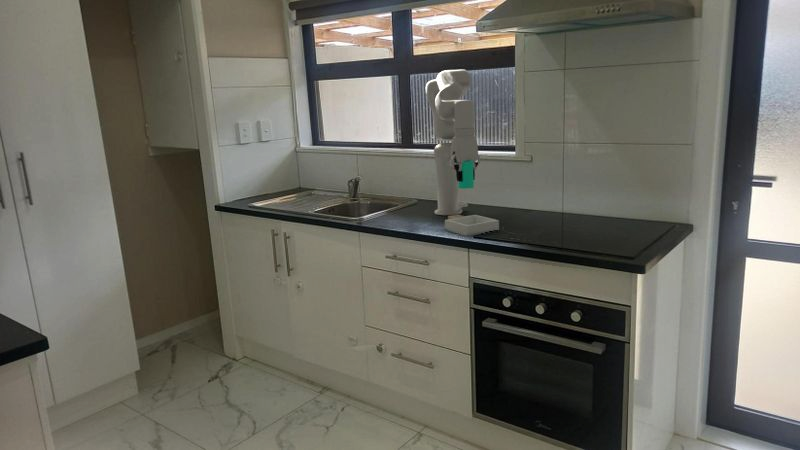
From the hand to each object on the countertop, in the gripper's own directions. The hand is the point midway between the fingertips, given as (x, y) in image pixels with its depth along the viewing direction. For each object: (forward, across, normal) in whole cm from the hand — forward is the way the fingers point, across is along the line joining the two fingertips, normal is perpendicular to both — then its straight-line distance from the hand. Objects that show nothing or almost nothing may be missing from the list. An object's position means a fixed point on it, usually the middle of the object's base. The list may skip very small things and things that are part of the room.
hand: (465, 180), depth 227 cm
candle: (+3, 0, 0) cm, 3 cm away
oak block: (+20, -1, -9) cm, 22 cm away
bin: (+20, -1, +2) cm, 20 cm away
